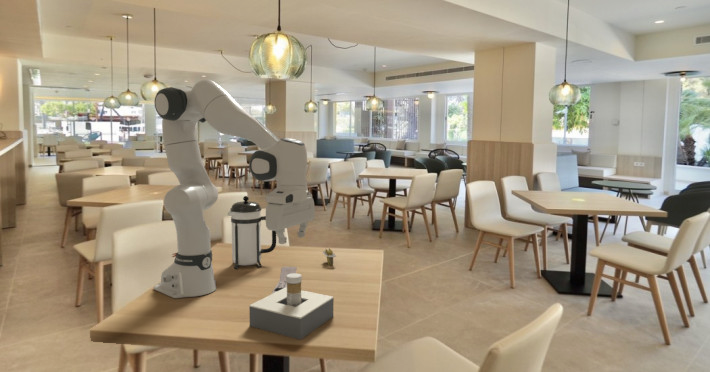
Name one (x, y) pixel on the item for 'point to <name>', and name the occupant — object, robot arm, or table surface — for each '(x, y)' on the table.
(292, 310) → the socket block
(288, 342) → the table surface
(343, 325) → the table surface
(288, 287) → the sprinkles bottle
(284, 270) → the mobile phone
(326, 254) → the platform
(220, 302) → the table surface
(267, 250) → the coffee press
